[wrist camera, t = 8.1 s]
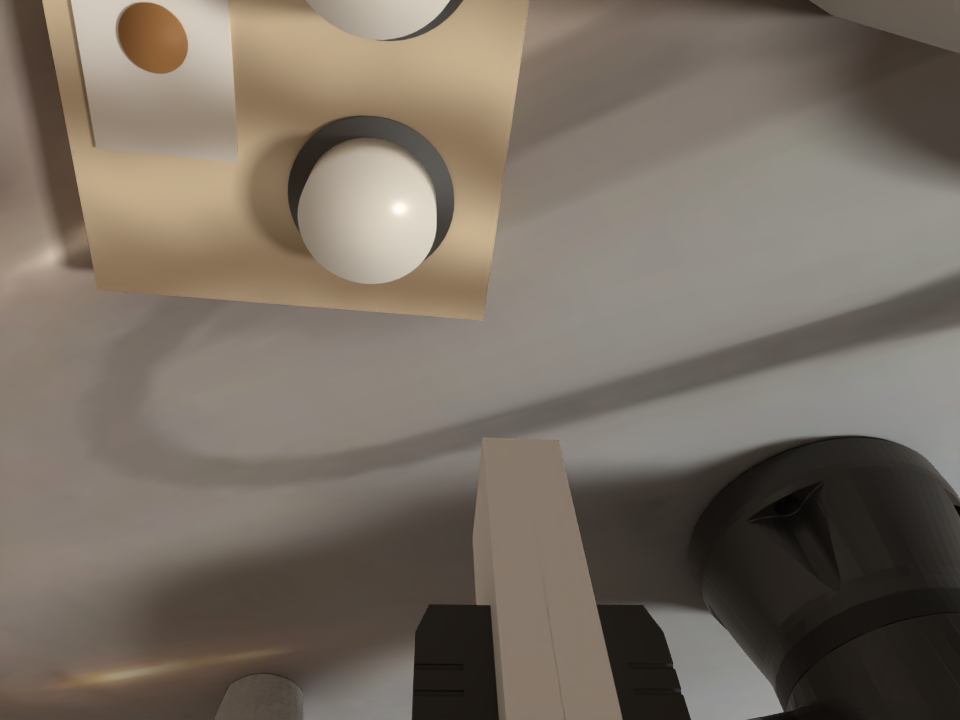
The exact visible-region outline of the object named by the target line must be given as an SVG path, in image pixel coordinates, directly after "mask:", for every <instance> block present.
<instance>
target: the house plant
mask: <svg viewBox="0 0 960 720" xmlns="http://www.w3.org/2000/svg"><path fill="white" fill-rule="evenodd" d="M214 720H303V694H302V691H301V689H300V688H299V687H298V685H296V684H295V683H294V682H292V681H291V680H288V679H286V678H284V677H280V676H276V675H271V674H253V675H250V676H246V677H243V678H241V679H239V680H237V681H235V682H234V683H232V684H230V686H229V687H228V689H227V691H226V693H225V696H224V698H223V700H222V702H221V705H220V707H219V709H218V712H217V714H216V716H215V718H214Z"/></svg>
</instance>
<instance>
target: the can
mask: <svg viewBox="0 0 960 720" xmlns="http://www.w3.org/2000/svg"><path fill="white" fill-rule="evenodd" d="M809 1H811V2H812V3H814V4H815V5H817V6H818V7H820V8H822V9H823V10H825V11H826V12H828V13H829V14H831V15H832V16H835V17H839V18H842V19H846V20H849V21H852V22H856V23H859V24H862V25H866V26H869V27H872V28H876V29H879V30H882V31H886V32H889V33H892V34H896V35H899V36H903V37H906V38H909V39H913V40H916V41H919V42H923V43H926V44H929V45H933V46H936V47H939V48H943V49H946V50H949V51H953V52H956V53H959V54H960V0H809Z"/></svg>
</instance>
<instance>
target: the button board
mask: <svg viewBox="0 0 960 720" xmlns="http://www.w3.org/2000/svg"><path fill="white" fill-rule="evenodd" d="M42 2H43V7H44V12H45V18H46V23H47V28H48V33H49V39H50V44H51V49H52V54H53V60H54V65H55V70H56V75H57V81H58V86H59V91H60V96H61V101H62V107H63V112H64V117H65V122H66V128H67V133H68V138H69V143H70V149H71V154H72V159H73V164H74V170H75V175H76V180H77V185H78V191H79V196H80V201H81V206H82V211H83V217H84V222H85V227H86V232H87V238H88V243H89V248H90V253H91V259H92V264H93V269H94V274H95V280H96V285H97V290H108V291H121V292H133V293H146V294H158V295H171V296H183V297H196V298H209V299H221V300H234V301H246V302H259V303H271V304H284V305H297V306H309V307H322V308H334V309H347V310H360V311H372V312H385V313H397V314H410V315H422V316H435V317H448V318H460V319H473V320H483V317H484V311H485V304H486V297H487V290H488V283H489V276H490V269H491V262H492V255H493V249H494V242H495V235H496V228H497V221H498V214H499V207H500V200H501V193H502V186H503V180H504V173H505V166H506V159H507V152H508V145H509V138H510V131H511V124H512V118H513V111H514V104H515V97H516V90H517V83H518V76H519V69H520V62H521V55H522V49H523V42H524V35H525V28H526V21H527V14H528V7H529V0H450V1H449V3H448V4H447V5H446V7H445V8H444V9H443V11H442V12H441V13H440V14H439V15H438V16H437V17H436V18H435V19H434V20H433V21H431V22H430V23H429V24H427V25H426V26H425V27H423V28H421V29H420V30H418V31H416V32H414V33H412V34H409V35H406V36H404V37H400V38H395V39H387V40H373V39H366V38H361V37H357V36H354V35H351V34H348V33H346V32H344V31H342V30H340V29H338V28H336V27H335V26H333V25H332V24H330V23H329V22H327V21H326V20H325V19H323V18H322V17H321V16H320V15H319V14H318V13H316V11H315V10H314V9H313V8H312V7H311V6H310V5H309V4H308V3H307V1H306V0H42ZM364 137H369V138H379V139H384V140H387V141H391V142H393V143H396V144H398V145H400V146H402V147H403V148H405V149H407V150H408V151H409V152H411V153H412V154H413V155H414V156H415V157H416V158H417V159H418V160H419V161H420V162H421V163H422V164H423V166H424V167H425V168H426V170H427V172H428V173H429V175H430V177H431V180H432V182H433V185H434V189H435V193H436V207H437V227H436V235H435V239H434V242H433V245H432V247H431V249H430V251H429V253H428V255H427V256H426V258H425V259H424V260H423V261H422V263H421V264H420V265H419V266H418V267H417V268H415V269H414V270H413V271H412V272H410V273H409V274H407V275H405V276H403V277H401V278H399V279H397V280H394V281H391V282H386V283H380V284H363V283H356V282H353V281H349V280H346V279H343V278H341V277H339V276H337V275H335V274H333V273H331V272H330V271H328V270H327V269H325V268H324V267H323V266H322V265H321V264H320V263H318V261H317V260H316V259H315V258H314V257H313V256H312V255H311V253H310V252H309V250H308V249H307V247H306V245H305V243H304V241H303V239H302V236H301V234H300V230H299V225H298V205H299V200H300V197H301V194H302V191H303V189H304V186H305V184H306V182H307V180H308V177H309V175H310V173H311V171H312V169H313V167H314V165H315V164H316V163H317V161H318V160H319V158H320V157H321V156H322V155H323V154H324V153H325V152H327V151H328V150H329V149H331V148H332V147H334V146H336V145H337V144H339V143H342V142H344V141H347V140H351V139H355V138H364Z"/></svg>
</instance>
